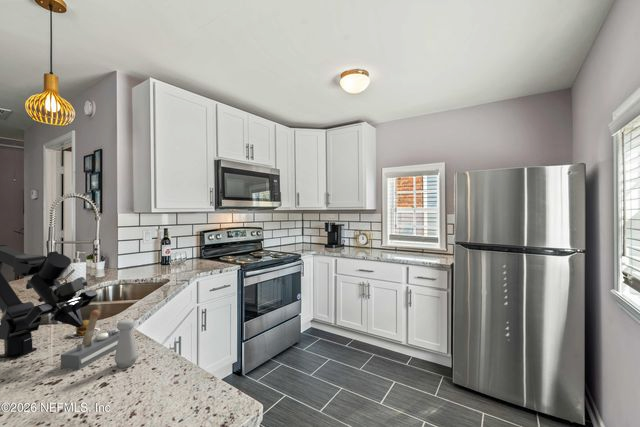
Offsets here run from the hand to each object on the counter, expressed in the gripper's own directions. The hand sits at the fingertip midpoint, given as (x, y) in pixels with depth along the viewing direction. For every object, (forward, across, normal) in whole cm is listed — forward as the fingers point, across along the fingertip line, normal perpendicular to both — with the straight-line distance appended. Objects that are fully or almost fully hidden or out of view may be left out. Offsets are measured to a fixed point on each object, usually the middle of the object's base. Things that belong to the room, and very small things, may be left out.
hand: (81, 326), depth 92 cm
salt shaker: (+18, -1, -4) cm, 19 cm away
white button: (+5, +6, +3) cm, 8 cm away
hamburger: (-5, +19, +21) cm, 29 cm away
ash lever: (+5, 0, +3) cm, 6 cm away
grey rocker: (+5, +10, +3) cm, 12 cm away
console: (+8, +4, +6) cm, 11 cm away
